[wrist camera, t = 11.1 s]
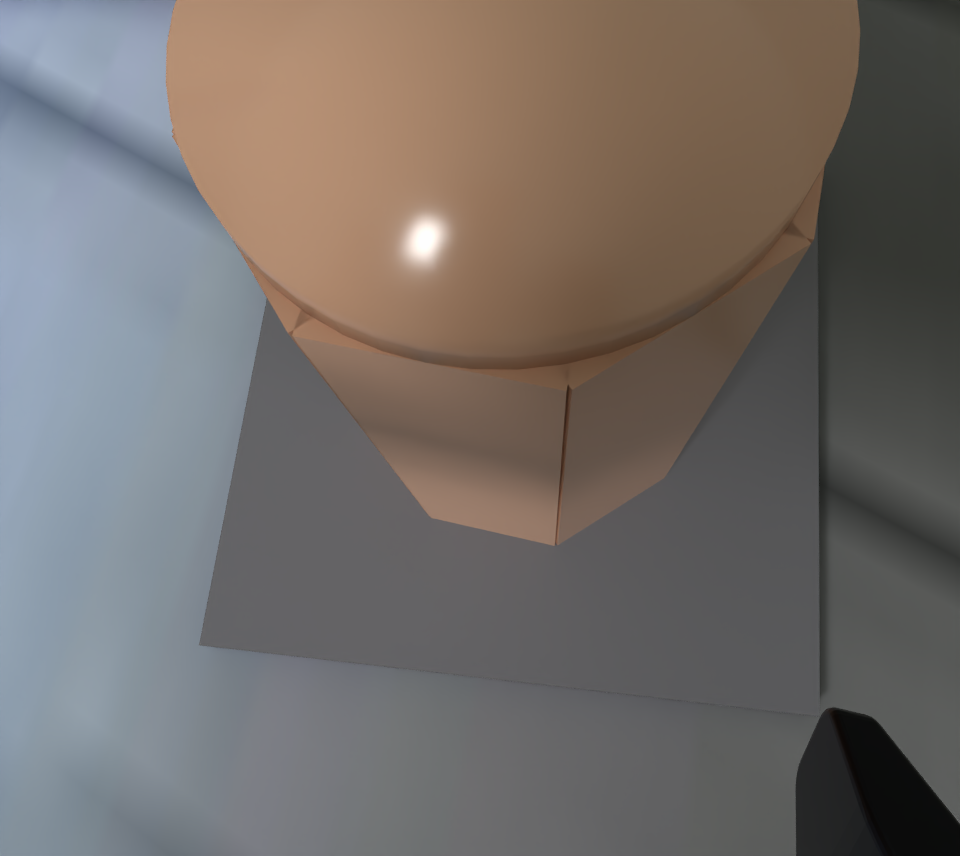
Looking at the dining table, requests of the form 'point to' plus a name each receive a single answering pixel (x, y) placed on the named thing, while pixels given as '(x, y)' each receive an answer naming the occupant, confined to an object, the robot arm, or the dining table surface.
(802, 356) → the charcoal mat
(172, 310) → the dining table surface
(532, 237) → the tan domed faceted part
